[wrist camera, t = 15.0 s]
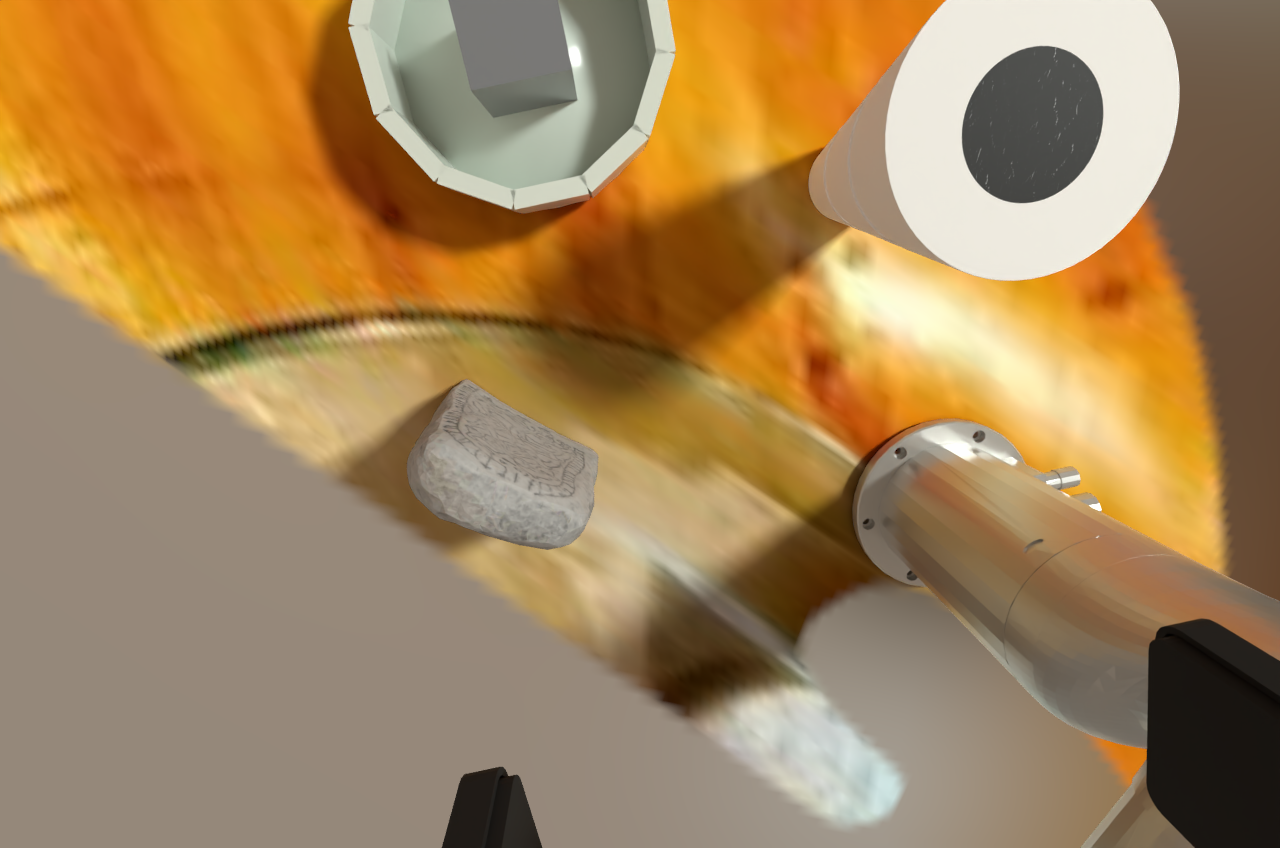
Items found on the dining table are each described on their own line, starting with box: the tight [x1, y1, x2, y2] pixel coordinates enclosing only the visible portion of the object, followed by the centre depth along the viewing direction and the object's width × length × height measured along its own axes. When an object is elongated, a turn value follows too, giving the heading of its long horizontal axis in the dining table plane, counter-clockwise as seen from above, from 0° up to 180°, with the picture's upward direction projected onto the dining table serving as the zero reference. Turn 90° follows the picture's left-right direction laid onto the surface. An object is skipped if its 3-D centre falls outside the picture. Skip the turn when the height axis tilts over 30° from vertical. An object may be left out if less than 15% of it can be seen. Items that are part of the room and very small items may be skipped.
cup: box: [808, 0, 1179, 281], centre depth 31 cm, size 11×11×18 cm
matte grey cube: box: [448, 0, 577, 118], centre depth 33 cm, size 5×5×6 cm
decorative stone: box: [407, 379, 598, 550], centre depth 36 cm, size 11×6×15 cm, turn 61°
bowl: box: [348, 0, 676, 214], centre depth 35 cm, size 16×16×5 cm
